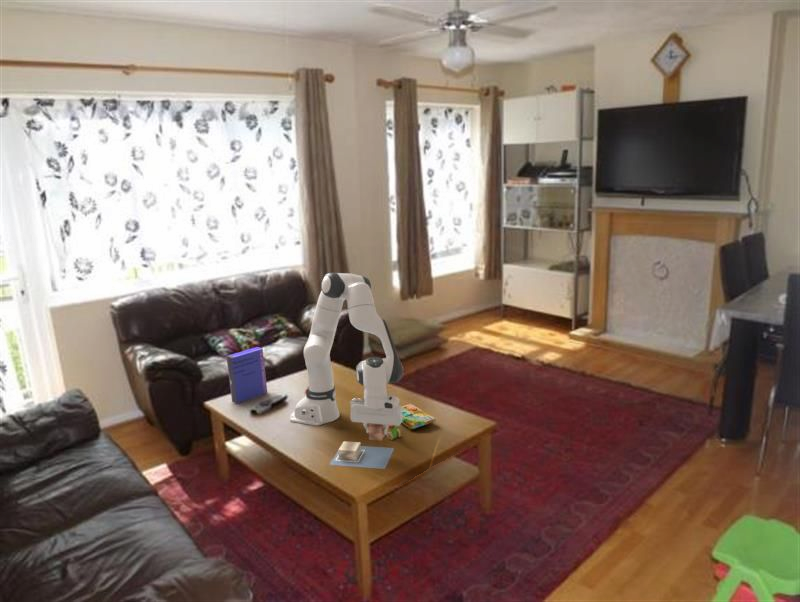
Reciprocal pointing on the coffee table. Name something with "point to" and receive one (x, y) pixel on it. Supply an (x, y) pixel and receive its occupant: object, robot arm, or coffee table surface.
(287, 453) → the coffee table surface
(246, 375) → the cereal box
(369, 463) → the board
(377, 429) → the terracotta cube
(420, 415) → the puzzle game
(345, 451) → the ash base block
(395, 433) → the toy lion
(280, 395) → the coffee table surface
